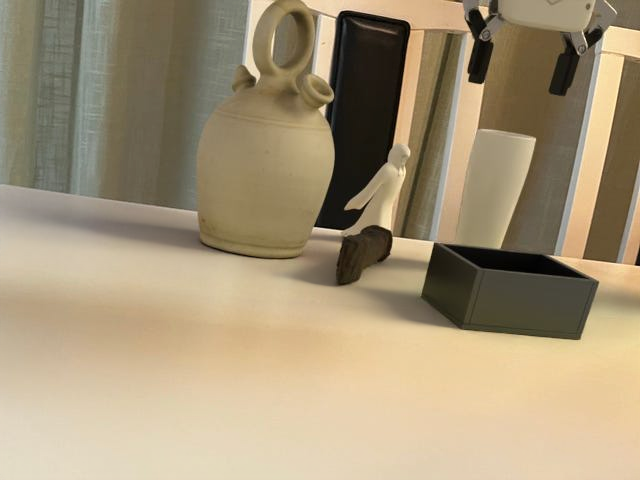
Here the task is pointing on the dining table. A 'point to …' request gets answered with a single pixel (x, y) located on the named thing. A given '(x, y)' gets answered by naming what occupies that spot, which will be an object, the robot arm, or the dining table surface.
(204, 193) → the jug
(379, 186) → the figurine
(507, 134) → the drinking glass
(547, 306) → the bin
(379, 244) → the rough brown chunk
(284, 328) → the dining table surface
